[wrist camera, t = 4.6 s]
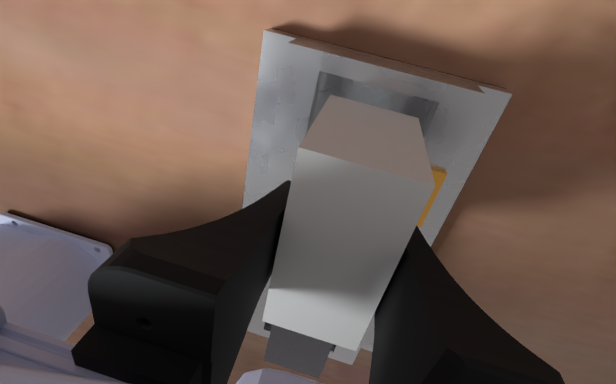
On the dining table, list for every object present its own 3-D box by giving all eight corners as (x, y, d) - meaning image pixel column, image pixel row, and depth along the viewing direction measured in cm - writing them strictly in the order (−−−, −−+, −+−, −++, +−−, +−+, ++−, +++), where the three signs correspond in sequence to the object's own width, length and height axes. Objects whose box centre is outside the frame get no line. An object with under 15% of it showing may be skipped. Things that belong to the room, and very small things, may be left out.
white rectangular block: (297, 231, 17) (262, 321, 12) (330, 94, 13) (298, 147, 8) (365, 251, 17) (355, 351, 12) (418, 117, 13) (435, 185, 8)
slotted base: (235, 295, 26) (205, 354, 22) (270, 28, 16) (226, 39, 11) (374, 340, 25) (371, 410, 21) (505, 88, 15) (551, 125, 11)
